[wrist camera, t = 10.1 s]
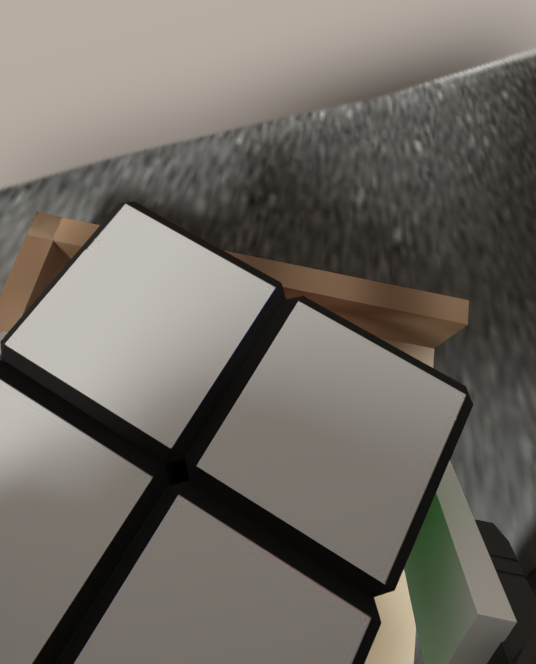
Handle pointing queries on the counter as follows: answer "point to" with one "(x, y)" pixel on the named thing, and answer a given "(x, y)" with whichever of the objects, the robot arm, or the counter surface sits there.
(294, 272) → the walled corner board
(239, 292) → the puzzle cube
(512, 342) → the counter surface
